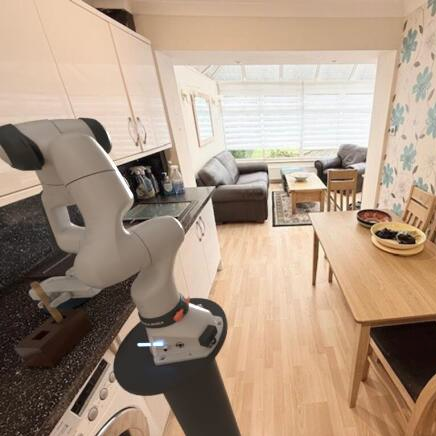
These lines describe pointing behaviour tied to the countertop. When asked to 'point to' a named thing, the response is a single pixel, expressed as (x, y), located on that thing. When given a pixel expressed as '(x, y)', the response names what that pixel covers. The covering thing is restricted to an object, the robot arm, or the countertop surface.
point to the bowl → (68, 304)
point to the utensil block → (54, 338)
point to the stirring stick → (46, 301)
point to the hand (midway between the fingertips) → (45, 306)
